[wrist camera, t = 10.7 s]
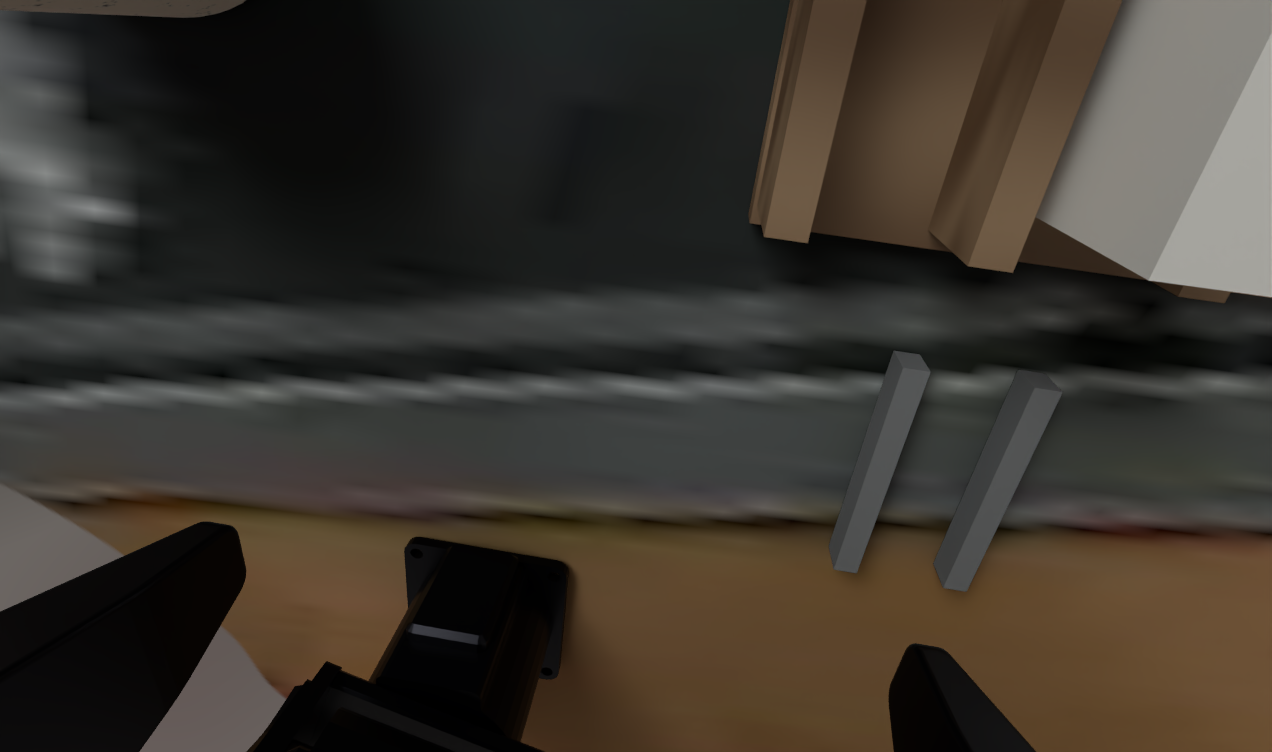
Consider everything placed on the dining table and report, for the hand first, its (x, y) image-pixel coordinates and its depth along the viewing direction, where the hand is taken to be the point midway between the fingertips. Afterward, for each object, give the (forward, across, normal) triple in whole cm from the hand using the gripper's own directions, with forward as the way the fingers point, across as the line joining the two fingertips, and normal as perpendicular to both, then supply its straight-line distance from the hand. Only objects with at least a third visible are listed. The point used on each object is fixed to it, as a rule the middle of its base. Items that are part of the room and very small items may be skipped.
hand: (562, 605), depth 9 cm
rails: (+13, -10, +5) cm, 17 cm away
